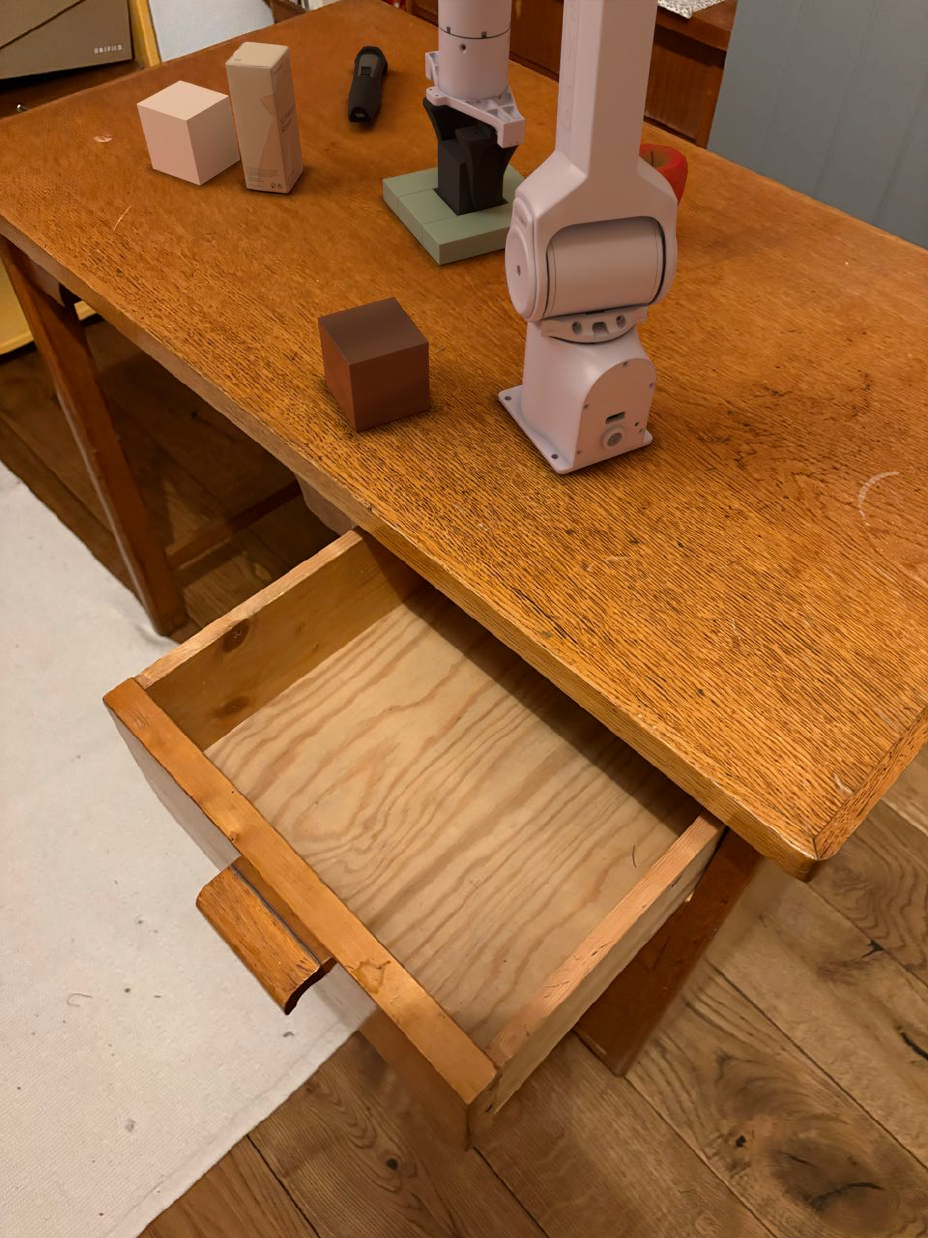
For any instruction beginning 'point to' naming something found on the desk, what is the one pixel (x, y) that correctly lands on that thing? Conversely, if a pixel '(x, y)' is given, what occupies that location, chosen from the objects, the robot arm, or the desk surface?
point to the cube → (375, 363)
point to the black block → (456, 178)
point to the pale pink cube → (189, 132)
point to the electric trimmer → (366, 84)
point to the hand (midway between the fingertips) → (470, 192)
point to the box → (265, 116)
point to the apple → (667, 165)
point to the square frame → (449, 216)
